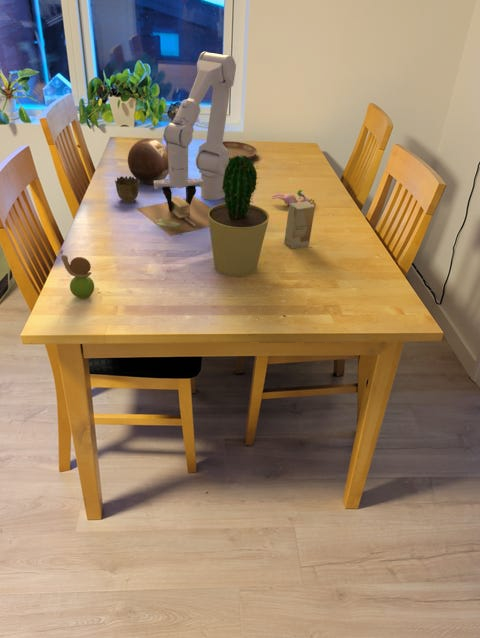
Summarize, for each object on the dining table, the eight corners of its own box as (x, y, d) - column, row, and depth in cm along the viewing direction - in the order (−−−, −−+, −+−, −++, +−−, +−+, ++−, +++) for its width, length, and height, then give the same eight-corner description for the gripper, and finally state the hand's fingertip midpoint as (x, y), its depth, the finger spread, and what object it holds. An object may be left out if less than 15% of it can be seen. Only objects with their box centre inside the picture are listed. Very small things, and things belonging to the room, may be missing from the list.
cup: (135, 209, 164) (133, 185, 159) (113, 206, 165) (111, 182, 160) (143, 201, 170) (142, 177, 165) (122, 198, 171) (120, 174, 166)
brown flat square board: (194, 200, 173) (194, 196, 172) (231, 224, 158) (231, 220, 158) (136, 211, 162) (136, 208, 162) (170, 239, 148) (170, 235, 147)
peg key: (179, 208, 164) (179, 195, 161) (201, 226, 154) (201, 212, 151) (166, 210, 162) (166, 197, 159) (188, 228, 152) (188, 215, 149)
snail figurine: (69, 290, 123) (62, 245, 116) (96, 290, 124) (91, 245, 117) (65, 302, 119) (57, 256, 112) (93, 302, 120) (87, 256, 113)
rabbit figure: (311, 206, 178) (269, 198, 175) (316, 189, 175) (273, 181, 172) (314, 213, 173) (271, 205, 170) (320, 196, 170) (276, 188, 167)
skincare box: (291, 249, 147) (296, 209, 140) (283, 243, 150) (288, 203, 143) (310, 245, 150) (316, 206, 143) (301, 239, 153) (307, 200, 146)
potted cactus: (245, 287, 129) (253, 169, 112) (195, 268, 135) (195, 154, 118) (274, 263, 140) (286, 152, 123) (227, 247, 146) (232, 139, 129)
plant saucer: (256, 166, 205) (257, 158, 203) (204, 163, 204) (205, 155, 202) (256, 150, 222) (256, 142, 220) (208, 147, 221) (208, 140, 219)
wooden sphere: (160, 193, 176) (159, 148, 168) (121, 185, 180) (117, 142, 171) (178, 179, 188) (178, 137, 179) (141, 172, 191) (139, 131, 183)
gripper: (155, 171, 146) (157, 216, 154) (205, 170, 150) (204, 213, 158) (152, 163, 152) (154, 207, 160) (200, 162, 155) (200, 204, 163)
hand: (178, 209), depth 159 cm, fingers closed on peg key, 5 cm apart
